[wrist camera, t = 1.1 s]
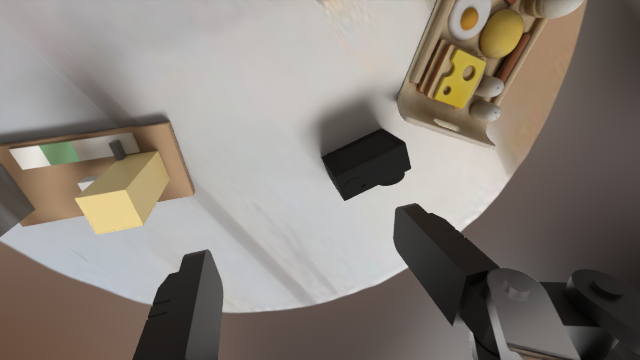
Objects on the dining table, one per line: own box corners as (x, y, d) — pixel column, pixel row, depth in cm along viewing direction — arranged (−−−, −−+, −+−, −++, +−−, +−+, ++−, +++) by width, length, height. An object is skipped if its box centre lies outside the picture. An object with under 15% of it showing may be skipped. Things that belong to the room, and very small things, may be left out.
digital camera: (332, 185, 42) (346, 208, 36) (320, 157, 39) (333, 177, 33) (389, 157, 42) (413, 176, 36) (381, 127, 40) (406, 142, 33)
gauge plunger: (151, 134, 31) (114, 168, 22) (169, 179, 34) (143, 225, 25) (78, 144, 29) (9, 185, 21) (104, 190, 32) (52, 243, 24)
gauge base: (170, 121, 32) (151, 139, 26) (195, 191, 37) (184, 220, 30) (-27, 147, 28) (-103, 176, 22) (29, 221, 33) (-21, 261, 27)
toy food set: (475, -99, 30) (539, -141, 23) (568, -29, 36) (639, -45, 30) (387, 114, 39) (416, 129, 33) (473, 141, 46) (512, 157, 39)
